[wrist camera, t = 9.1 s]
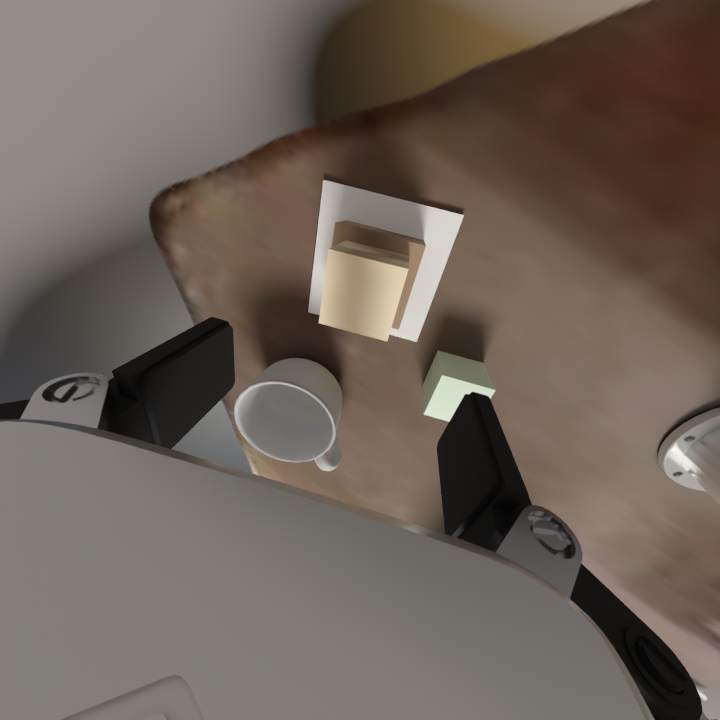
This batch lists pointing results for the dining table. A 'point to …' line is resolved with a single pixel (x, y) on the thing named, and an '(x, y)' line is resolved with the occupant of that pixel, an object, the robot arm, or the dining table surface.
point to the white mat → (394, 217)
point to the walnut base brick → (389, 243)
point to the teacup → (293, 413)
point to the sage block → (453, 384)
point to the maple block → (362, 289)
